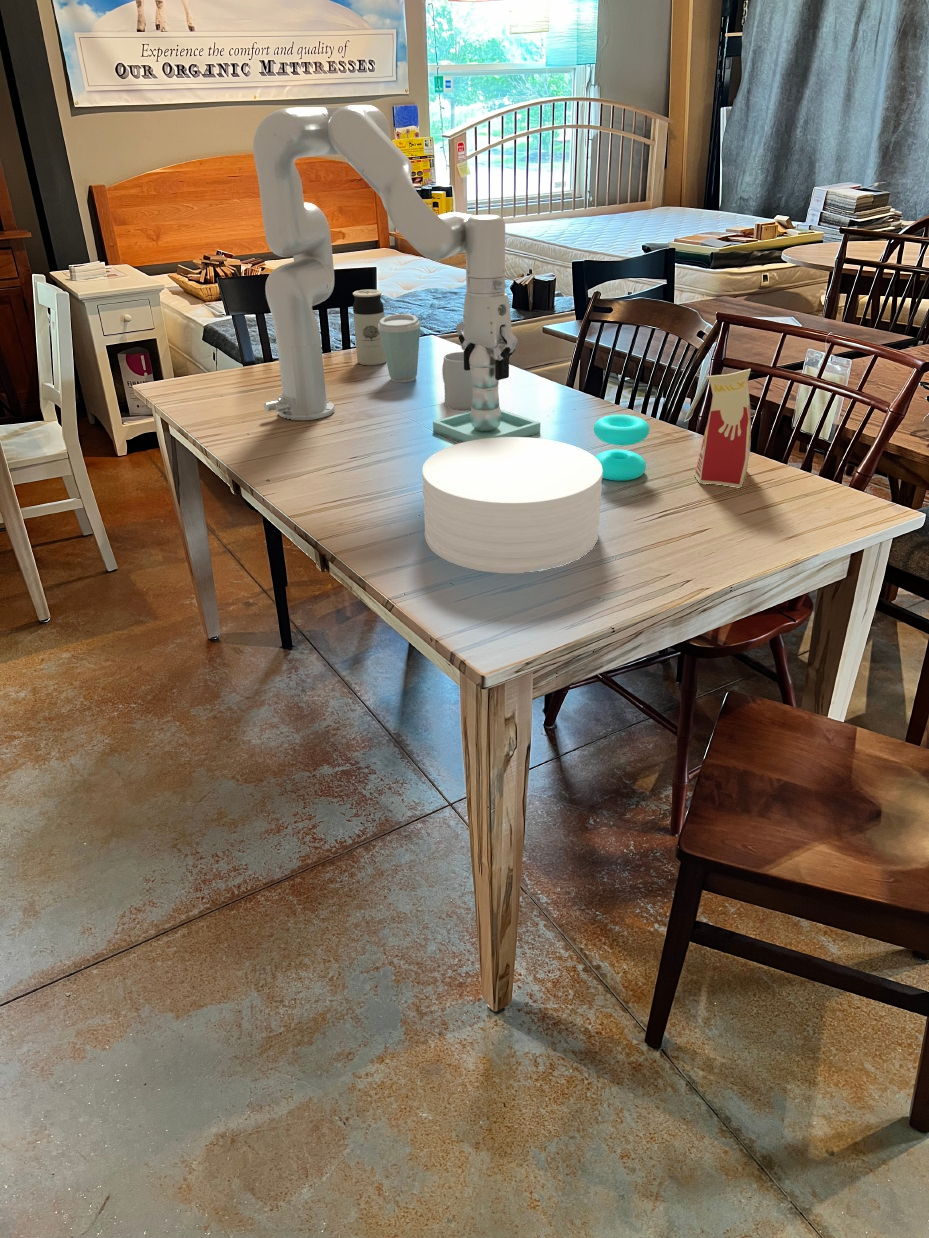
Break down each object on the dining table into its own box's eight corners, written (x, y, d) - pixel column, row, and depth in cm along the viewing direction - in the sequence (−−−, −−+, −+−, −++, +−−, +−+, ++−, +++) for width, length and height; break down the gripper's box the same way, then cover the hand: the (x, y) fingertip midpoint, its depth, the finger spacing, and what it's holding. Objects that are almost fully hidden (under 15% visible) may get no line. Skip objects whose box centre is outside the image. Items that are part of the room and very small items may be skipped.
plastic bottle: (507, 428, 183) (508, 331, 172) (486, 436, 179) (485, 337, 168) (485, 422, 187) (484, 326, 176) (463, 430, 182) (461, 332, 172)
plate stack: (467, 589, 125) (465, 516, 119) (400, 517, 147) (396, 452, 141) (632, 551, 134) (638, 482, 128) (546, 489, 156) (548, 427, 150)
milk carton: (746, 471, 162) (764, 363, 151) (743, 489, 154) (761, 377, 144) (696, 466, 164) (710, 359, 154) (691, 484, 157) (705, 373, 146)
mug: (489, 405, 199) (488, 357, 193) (458, 412, 195) (457, 363, 189) (459, 393, 207) (458, 347, 202) (429, 400, 203) (427, 352, 198)
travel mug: (360, 358, 237) (355, 289, 228) (389, 358, 236) (385, 289, 227) (354, 366, 230) (348, 295, 221) (384, 366, 230) (379, 295, 220)
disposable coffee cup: (422, 385, 214) (419, 322, 206) (378, 385, 214) (374, 323, 207) (424, 373, 223) (421, 312, 215) (382, 374, 223) (378, 313, 216)
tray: (482, 451, 173) (482, 440, 172) (433, 431, 184) (432, 421, 183) (540, 433, 182) (540, 422, 181) (489, 415, 193) (489, 405, 191)
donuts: (629, 409, 162) (661, 424, 155) (625, 460, 168) (656, 477, 160) (583, 417, 159) (614, 433, 151) (581, 469, 164) (610, 487, 156)
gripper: (530, 288, 164) (528, 379, 173) (471, 277, 175) (472, 362, 184) (501, 294, 160) (500, 386, 169) (442, 282, 171) (445, 369, 180)
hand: (486, 374), depth 177 cm, fingers open, 9 cm apart
